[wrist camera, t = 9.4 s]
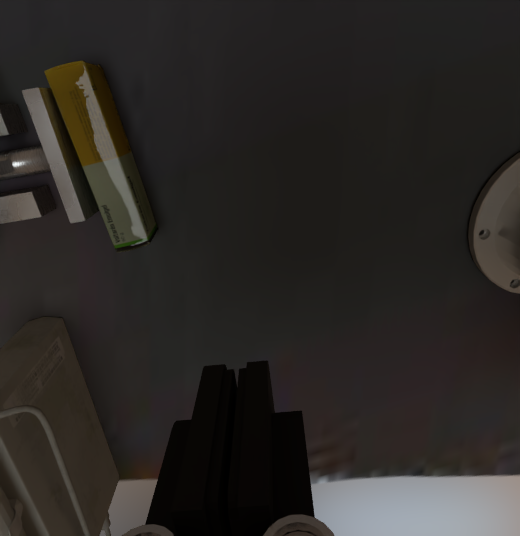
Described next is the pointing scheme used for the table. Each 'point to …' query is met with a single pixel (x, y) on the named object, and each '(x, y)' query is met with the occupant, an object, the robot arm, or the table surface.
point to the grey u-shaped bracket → (24, 200)
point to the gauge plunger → (52, 156)
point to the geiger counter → (50, 439)
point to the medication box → (103, 152)
